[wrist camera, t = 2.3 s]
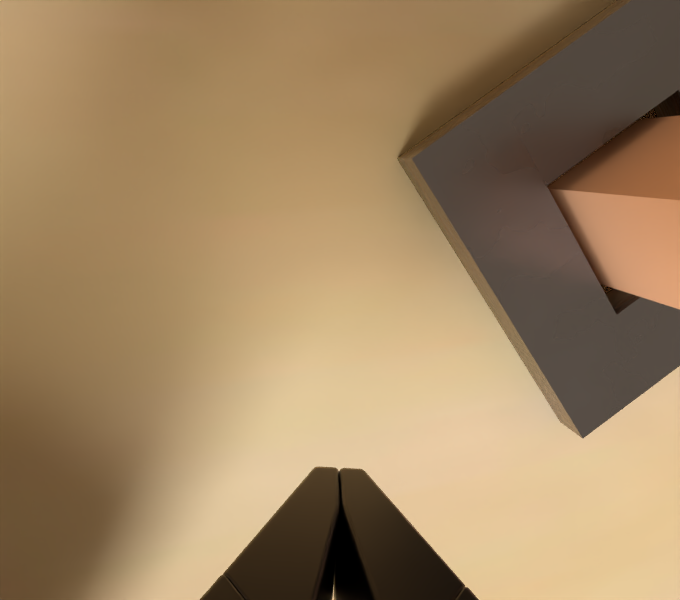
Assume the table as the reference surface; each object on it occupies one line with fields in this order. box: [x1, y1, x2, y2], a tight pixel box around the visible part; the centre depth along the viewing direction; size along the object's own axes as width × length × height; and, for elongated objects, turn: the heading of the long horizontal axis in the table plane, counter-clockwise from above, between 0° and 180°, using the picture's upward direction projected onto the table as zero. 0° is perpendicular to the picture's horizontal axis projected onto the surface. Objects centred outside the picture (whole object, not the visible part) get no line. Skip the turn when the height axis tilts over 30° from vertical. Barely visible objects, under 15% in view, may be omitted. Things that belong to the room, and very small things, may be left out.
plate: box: [397, 0, 680, 438], centre depth 21 cm, size 12×12×2 cm
